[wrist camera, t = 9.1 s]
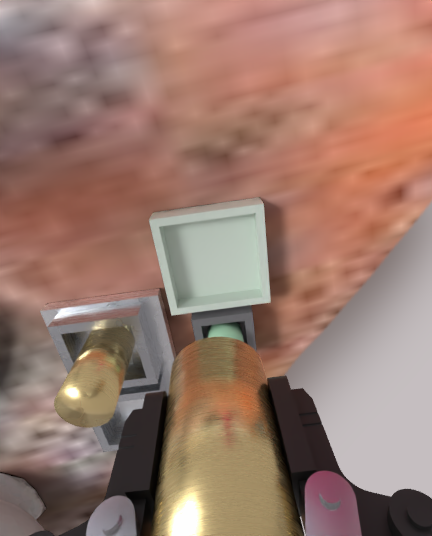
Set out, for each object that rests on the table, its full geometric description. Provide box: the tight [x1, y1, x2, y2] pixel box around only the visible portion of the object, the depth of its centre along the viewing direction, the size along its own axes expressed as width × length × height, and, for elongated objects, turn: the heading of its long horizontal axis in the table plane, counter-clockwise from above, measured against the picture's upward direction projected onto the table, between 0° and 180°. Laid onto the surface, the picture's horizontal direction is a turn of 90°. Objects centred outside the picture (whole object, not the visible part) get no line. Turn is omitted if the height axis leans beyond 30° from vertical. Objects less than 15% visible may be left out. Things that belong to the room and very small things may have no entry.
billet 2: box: [150, 337, 304, 536], centre depth 10 cm, size 4×4×7 cm
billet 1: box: [54, 326, 135, 427], centre depth 25 cm, size 4×4×7 cm
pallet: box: [40, 288, 176, 452], centre depth 29 cm, size 16×10×3 cm, turn 8°
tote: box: [149, 197, 271, 315], centre depth 25 cm, size 8×8×2 cm
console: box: [191, 305, 256, 351], centre depth 28 cm, size 5×5×2 cm
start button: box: [208, 322, 244, 342], centre depth 26 cm, size 3×3×2 cm
